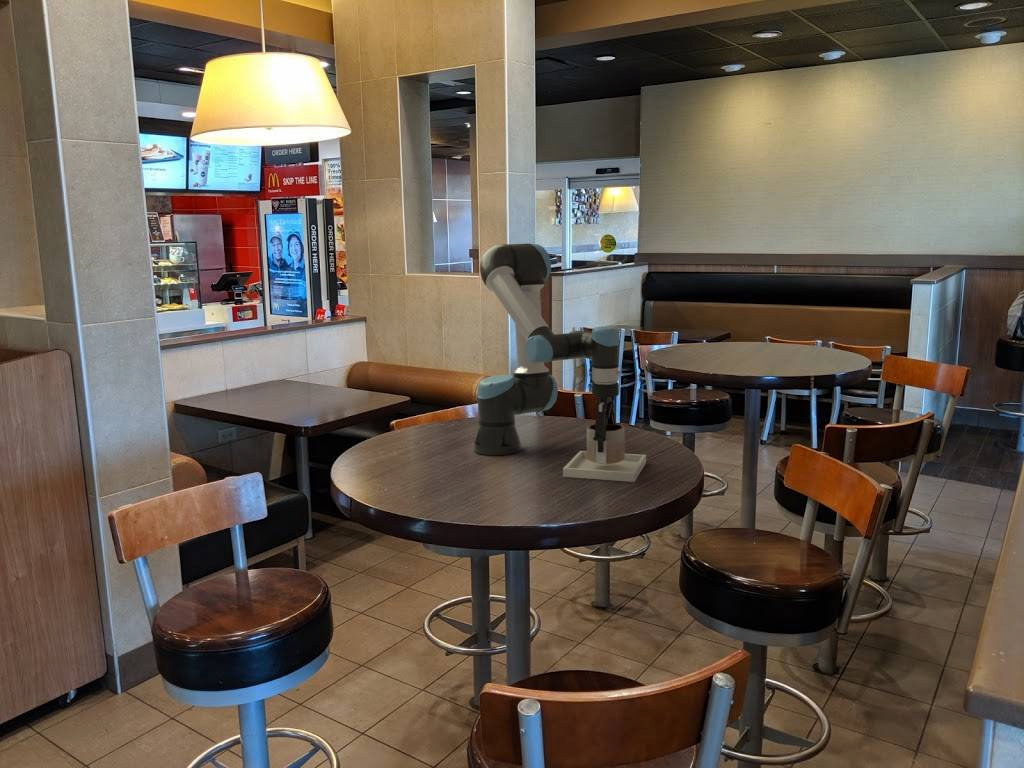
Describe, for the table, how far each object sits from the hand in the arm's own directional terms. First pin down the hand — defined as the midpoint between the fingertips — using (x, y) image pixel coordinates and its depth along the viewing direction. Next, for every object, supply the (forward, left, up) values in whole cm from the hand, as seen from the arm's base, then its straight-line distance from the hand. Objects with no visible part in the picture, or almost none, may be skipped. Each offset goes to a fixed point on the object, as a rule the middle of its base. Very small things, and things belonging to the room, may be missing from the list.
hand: (605, 457), depth 225 cm
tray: (0, 0, -3) cm, 3 cm away
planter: (0, 0, -1) cm, 1 cm away
